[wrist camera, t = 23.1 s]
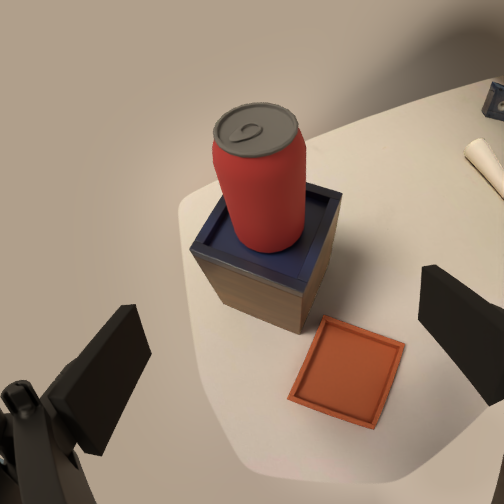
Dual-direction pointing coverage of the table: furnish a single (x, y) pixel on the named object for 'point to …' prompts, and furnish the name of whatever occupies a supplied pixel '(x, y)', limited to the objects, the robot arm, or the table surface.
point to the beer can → (262, 174)
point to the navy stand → (270, 263)
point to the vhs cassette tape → (494, 102)
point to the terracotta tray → (347, 372)
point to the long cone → (486, 163)
